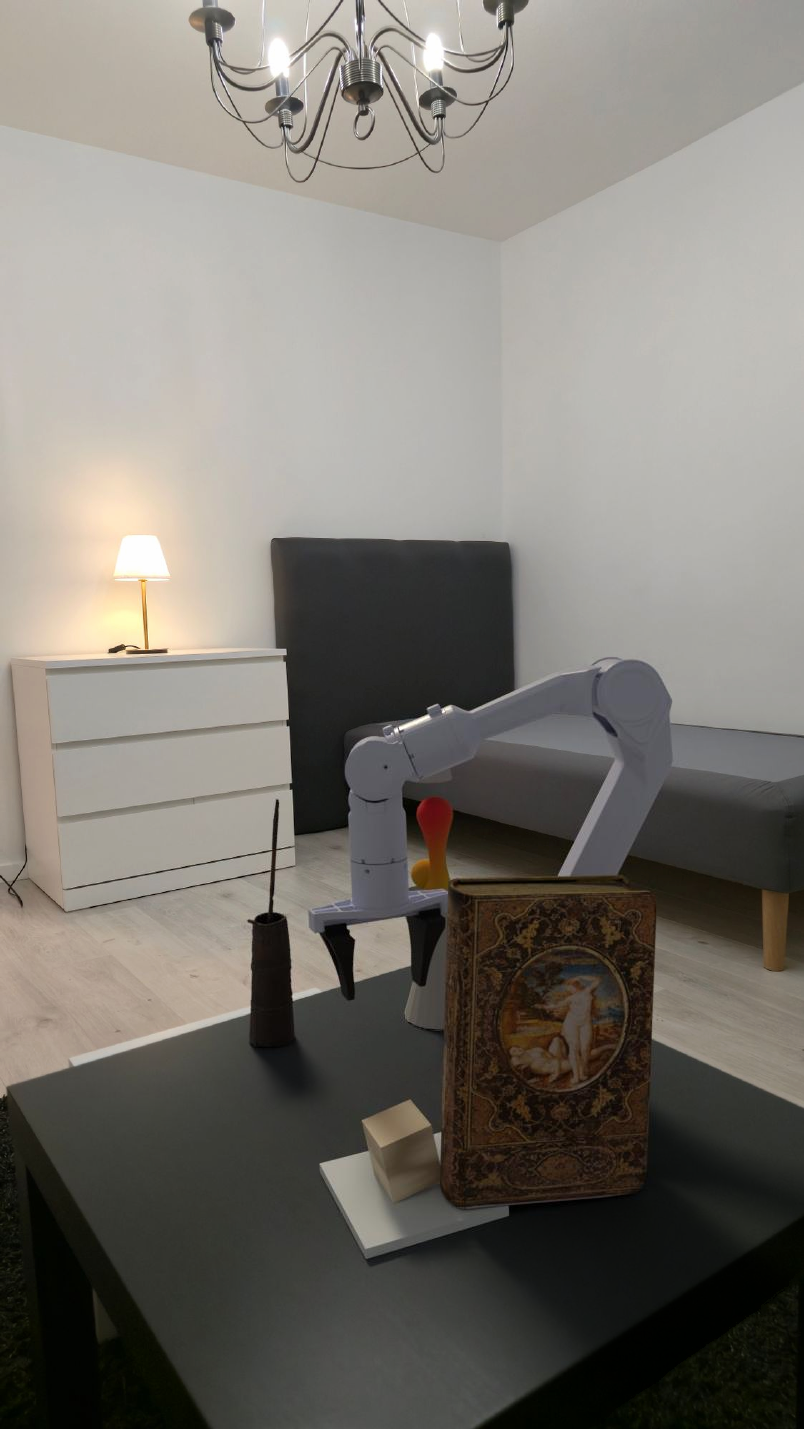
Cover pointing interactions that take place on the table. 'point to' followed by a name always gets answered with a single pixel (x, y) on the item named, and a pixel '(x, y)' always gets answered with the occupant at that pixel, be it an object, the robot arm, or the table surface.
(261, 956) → the butter churn
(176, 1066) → the table surface
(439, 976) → the lava lamp
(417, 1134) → the birch block
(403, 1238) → the pad
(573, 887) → the book
